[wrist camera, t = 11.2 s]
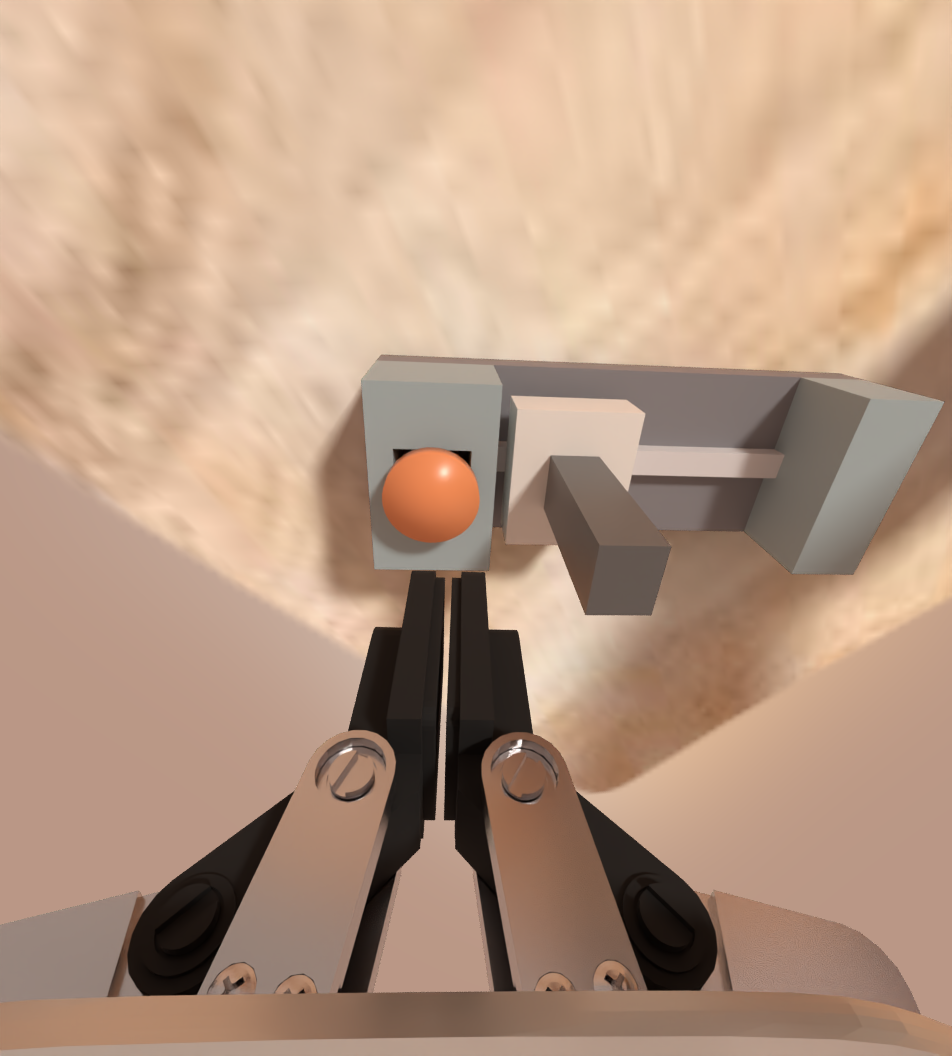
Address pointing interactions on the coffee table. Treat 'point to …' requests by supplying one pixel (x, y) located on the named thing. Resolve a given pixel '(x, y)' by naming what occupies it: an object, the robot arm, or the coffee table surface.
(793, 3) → the coffee table surface
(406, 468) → the button
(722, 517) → the rail board
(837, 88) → the coffee table surface
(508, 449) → the carriage
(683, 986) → the robot arm
